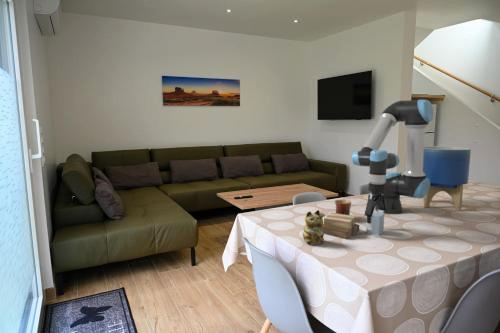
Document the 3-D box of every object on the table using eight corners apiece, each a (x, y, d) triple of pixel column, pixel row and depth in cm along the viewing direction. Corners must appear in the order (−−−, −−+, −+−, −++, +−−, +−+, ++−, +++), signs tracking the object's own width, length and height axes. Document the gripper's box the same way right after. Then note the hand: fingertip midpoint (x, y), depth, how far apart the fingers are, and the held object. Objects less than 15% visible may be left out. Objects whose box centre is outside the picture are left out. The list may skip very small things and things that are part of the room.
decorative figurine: (308, 246, 141) (309, 213, 139) (298, 240, 149) (298, 208, 147) (326, 243, 145) (327, 210, 143) (315, 237, 153) (316, 206, 151)
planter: (439, 199, 224) (443, 145, 219) (476, 209, 199) (481, 148, 194) (408, 202, 216) (412, 147, 211) (443, 213, 191) (448, 150, 186)
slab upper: (331, 220, 167) (331, 212, 167) (355, 223, 161) (355, 216, 161) (323, 226, 157) (324, 218, 157) (349, 230, 151) (349, 222, 150)
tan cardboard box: (333, 226, 170) (333, 219, 169) (359, 232, 160) (359, 224, 160) (319, 233, 159) (319, 225, 159) (346, 240, 150) (346, 232, 149)
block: (371, 229, 163) (371, 212, 162) (383, 232, 159) (384, 214, 158) (366, 232, 159) (366, 214, 158) (378, 235, 155) (379, 216, 154)
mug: (345, 223, 173) (346, 204, 172) (331, 219, 179) (331, 201, 178) (356, 218, 181) (357, 200, 180) (342, 215, 188) (343, 197, 186)
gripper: (379, 178, 167) (377, 219, 170) (358, 185, 149) (356, 230, 152) (394, 180, 162) (391, 221, 165) (374, 187, 144) (372, 234, 147)
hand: (374, 226), depth 158 cm, fingers open, 13 cm apart
